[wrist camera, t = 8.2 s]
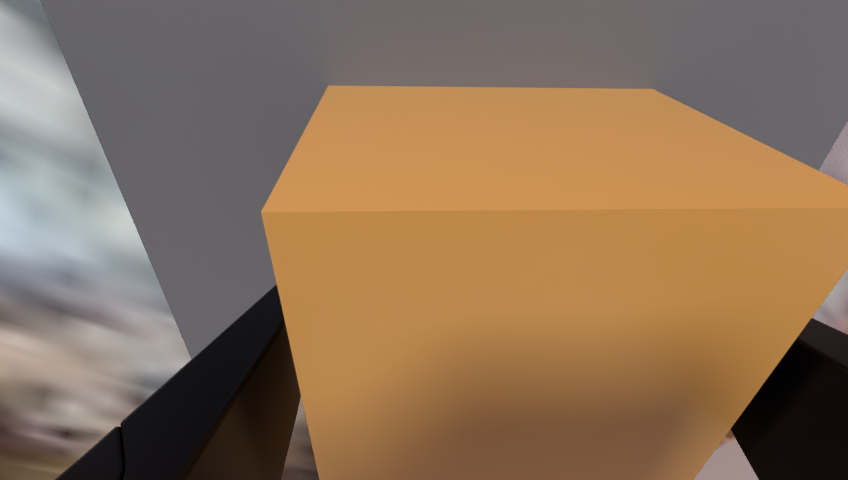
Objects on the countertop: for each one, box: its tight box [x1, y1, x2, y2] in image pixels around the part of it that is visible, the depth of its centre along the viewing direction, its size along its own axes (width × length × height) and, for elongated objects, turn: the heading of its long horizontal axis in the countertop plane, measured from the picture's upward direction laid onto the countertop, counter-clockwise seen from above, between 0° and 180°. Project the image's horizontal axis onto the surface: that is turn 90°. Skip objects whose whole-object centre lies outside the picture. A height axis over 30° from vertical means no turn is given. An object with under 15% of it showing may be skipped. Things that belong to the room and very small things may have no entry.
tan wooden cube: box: [261, 86, 848, 480], centre depth 8 cm, size 7×7×5 cm
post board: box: [40, 0, 848, 359], centre depth 9 cm, size 16×12×4 cm
